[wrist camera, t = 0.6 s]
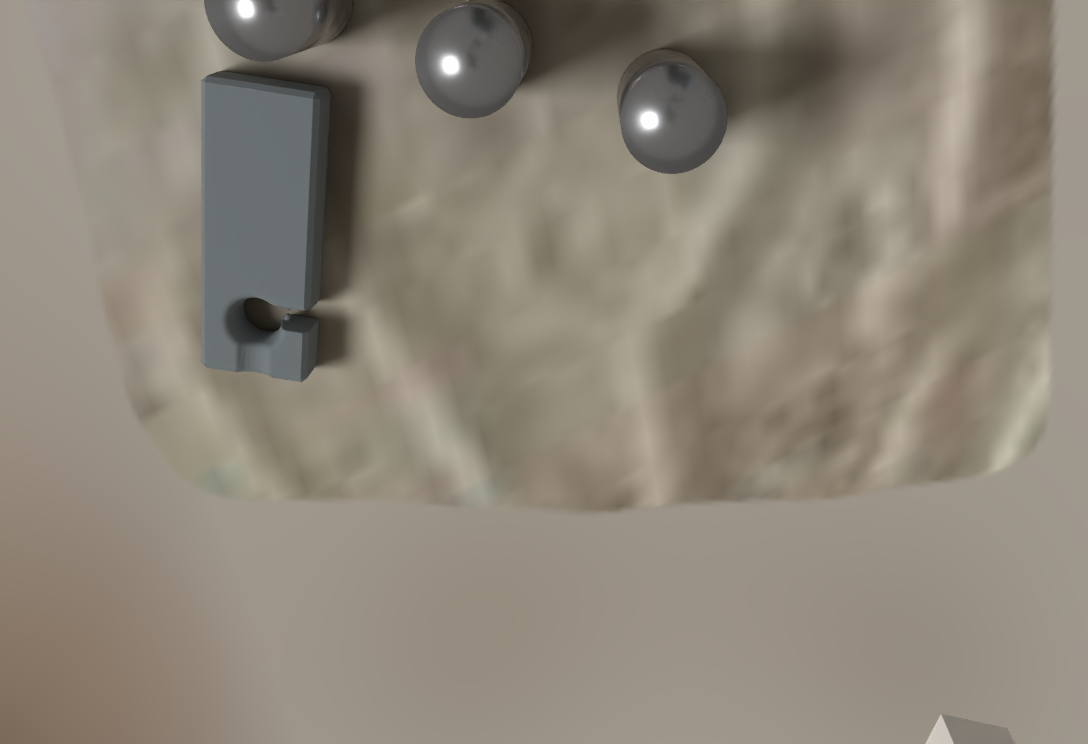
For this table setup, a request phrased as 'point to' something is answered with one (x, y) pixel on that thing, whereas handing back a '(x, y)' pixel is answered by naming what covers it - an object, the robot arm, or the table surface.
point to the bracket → (262, 219)
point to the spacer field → (499, 70)
